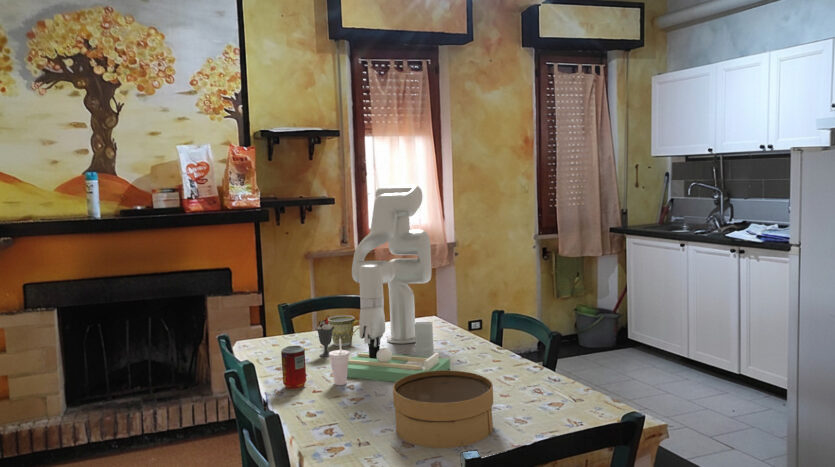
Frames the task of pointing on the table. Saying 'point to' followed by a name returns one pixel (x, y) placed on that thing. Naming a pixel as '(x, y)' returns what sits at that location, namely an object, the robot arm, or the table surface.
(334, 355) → the smoothie
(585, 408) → the table surface
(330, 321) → the ceramic cup
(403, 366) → the green
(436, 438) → the steamer basket
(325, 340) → the sundae
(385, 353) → the ball
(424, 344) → the skincare box
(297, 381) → the soda can
